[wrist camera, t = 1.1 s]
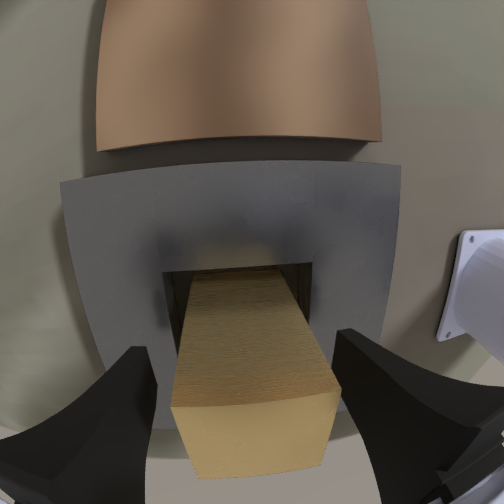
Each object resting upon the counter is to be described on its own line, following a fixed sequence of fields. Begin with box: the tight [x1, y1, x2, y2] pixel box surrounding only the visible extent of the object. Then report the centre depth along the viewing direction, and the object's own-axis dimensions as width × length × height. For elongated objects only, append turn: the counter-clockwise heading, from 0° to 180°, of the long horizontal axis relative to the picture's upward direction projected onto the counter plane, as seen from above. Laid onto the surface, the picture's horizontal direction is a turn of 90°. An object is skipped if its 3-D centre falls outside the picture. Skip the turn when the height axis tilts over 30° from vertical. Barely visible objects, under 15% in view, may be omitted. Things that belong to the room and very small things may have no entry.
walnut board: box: [96, 0, 382, 152], centre depth 9 cm, size 12×10×1 cm
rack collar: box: [60, 160, 401, 430], centre depth 13 cm, size 14×14×2 cm
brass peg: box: [170, 269, 342, 479], centre depth 10 cm, size 4×4×8 cm
